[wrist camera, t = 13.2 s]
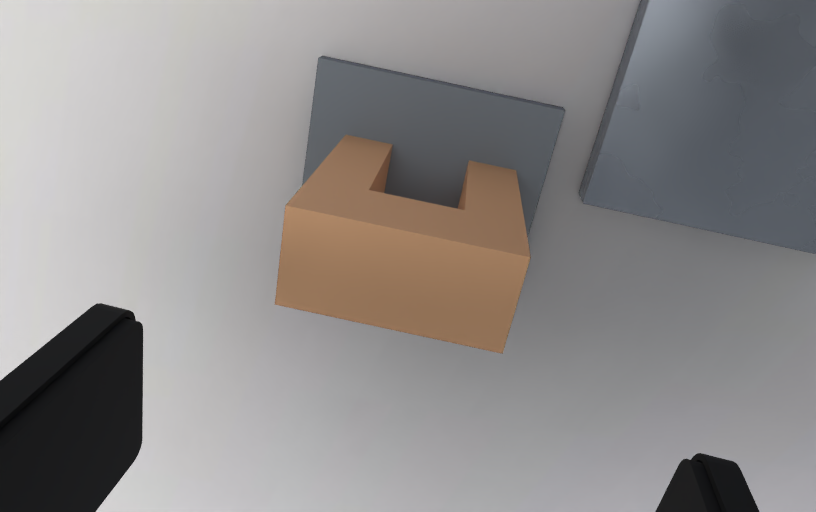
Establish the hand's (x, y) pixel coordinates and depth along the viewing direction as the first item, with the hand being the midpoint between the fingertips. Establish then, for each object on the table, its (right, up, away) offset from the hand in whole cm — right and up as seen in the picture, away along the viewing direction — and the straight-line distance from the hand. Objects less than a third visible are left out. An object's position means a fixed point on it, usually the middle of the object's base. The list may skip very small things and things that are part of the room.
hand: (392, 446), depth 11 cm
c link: (+1, +6, +14) cm, 15 cm away
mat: (+1, +6, +14) cm, 15 cm away
